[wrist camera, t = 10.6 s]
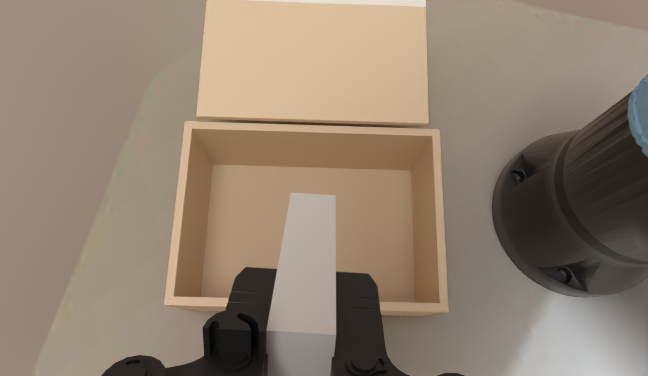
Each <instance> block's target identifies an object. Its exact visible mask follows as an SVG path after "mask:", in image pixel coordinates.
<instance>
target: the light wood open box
mask: <svg viewBox="0 0 648 376" xmlns="http://www.w3.org/2000/svg"><path fill="white" fill-rule="evenodd" d="M291 192H292V193H307V194H322V195H336V272H352V273H368V274H369V275H370V276H371V277H372V279H373V280H374V281H375V283H376V284H377V287H378V294H379V302H380V311H381V316H427V315H434V314H440V313H446V312H449V308H448V288H447V268H446V247H445V227H444V207H443V187H442V167H441V147H440V129H417V128H385V127H353V126H321V125H289V124H258V123H226V122H194V121H185V126H184V135H183V144H182V152H181V161H180V170H179V179H178V187H177V196H176V205H175V213H174V222H173V231H172V239H171V248H170V257H169V266H168V274H167V283H166V292H165V300H164V305H166V306H171V307H176V308H182V309H187V310H192V311H218V312H223V311H225V309H226V306H227V303H228V299H229V296H230V293H231V289H232V286H233V283H234V279H235V277H236V276H237V275H238V274H239V273H240V272H241V271H242V270H243V269H244V268H245V267H255V268H270V269H277V268H278V263H279V257H280V251H281V246H282V240H283V234H284V229H285V223H286V218H287V212H288V206H289V201H290V195H291Z"/></svg>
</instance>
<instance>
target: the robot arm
mask: <svg viewBox="0 0 648 376" xmlns="http://www.w3.org/2000/svg"><path fill="white" fill-rule="evenodd" d="M493 218H494V224H495V228H496V231H497V234H498V237H499V239H500V241H501V243H502V246H503V247H504V249H505V251H506V252H507V254H508V255H509V257H510V258H511V259H512V261H513V262H514V263H515V264H516V265H517V267H518V268H519V269H520V270H521V271H522V272H524V273H525V274H526V275H527V276H528V277H530V278H531V279H532V280H534V281H535V282H537V283H538V284H540V285H542V286H543V287H546V288H548V289H550V290H552V291H555V292H558V293H561V294H564V295H569V296H575V297H595V296H602V295H609V294H614V293H618V292H621V291H624V290H626V289H629V288H631V287H633V286H635V285H637V284H638V283H640V282H641V281H643V280H644V279H645V278H646V277H648V75H647V76H646V77H645V78H643V79H642V80H641V81H640V83H639V85H638V86H637V87H636V88H635V89H634V90H633V91H632V92H631V93H629V94H628V95H627V96H625V97H624V98H623V99H621V100H620V101H619V102H617V103H616V104H615V105H614V106H612V107H611V108H610V109H608V110H607V111H606V112H604V113H603V114H601V115H600V116H599V117H597V118H596V119H595V120H593V121H592V122H591V123H589V124H588V125H586V126H585V127H584V128H583V129H581V130H576V131H570V132H564V133H559V134H554V135H550V136H547V137H544V138H542V139H540V140H538V141H535V142H534V143H532V144H530V145H529V146H527V147H526V148H525V149H523V150H522V151H521V152H520V153H519V154H517V155H516V156H515V157H514V158H513V159H512V160H511V161H510V162H509V163H508V164H507V166H506V167H505V168H504V170H503V171H502V173H501V175H500V177H499V179H498V181H497V184H496V187H495V191H494V196H493ZM203 341H204V356H203V357H202V358H200V359H198V360H196V361H194V362H191V363H188V364H184V365H180V366H175V367H170V368H165V367H164V365H163V364H162V363H161V361H160V360H158V359H156V358H153V357H151V356H142V355H138V356H133V357H127V358H125V359H123V360H121V361H119V362H116V363H115V364H113V365H112V366H111V367H110V368H109V369H107V370H106V371H105V372H104V373H103V375H102V376H409V375H407V374H405V373H403V372H402V371H400V370H399V369H397V368H396V367H395V366H394V365H393V364H392V363H391V361H390V359H389V358H388V356H387V353H386V349H385V341H384V334H383V326H382V318H381V311H380V302H379V294H378V287H377V284H376V283H375V281H374V280H373V279H372V277H371V276H370V275H369V274H368V273H352V272H336V195H322V194H307V193H292V192H291V195H290V201H289V206H288V212H287V218H286V223H285V229H284V234H283V240H282V246H281V251H280V257H279V263H278V268H277V269H270V268H255V267H245V268H244V269H243V270H242V271H241V272H240V273H239V274H238V275H237V276H236V277H235V279H234V283H233V286H232V289H231V293H230V296H229V299H228V303H227V306H226V309H225V311H223V312H220V313H217V314H215V315H214V316H212V317H211V318H210V319H208V320H207V322H206V323H205V325H204V327H203ZM438 376H464V375H461V374H458V373H444V374H441V375H438Z"/></svg>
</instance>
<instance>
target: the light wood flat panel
mask: <svg viewBox="0 0 648 376" xmlns="http://www.w3.org/2000/svg"><path fill="white" fill-rule="evenodd" d="M196 116H197V118H198V119H216V120H247V121H279V122H311V123H342V124H374V125H406V126H427V125H428V124H429V116H428V79H427V42H426V0H207V5H206V15H205V26H204V38H203V48H202V59H201V70H200V81H199V92H198V104H197V115H196Z"/></svg>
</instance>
